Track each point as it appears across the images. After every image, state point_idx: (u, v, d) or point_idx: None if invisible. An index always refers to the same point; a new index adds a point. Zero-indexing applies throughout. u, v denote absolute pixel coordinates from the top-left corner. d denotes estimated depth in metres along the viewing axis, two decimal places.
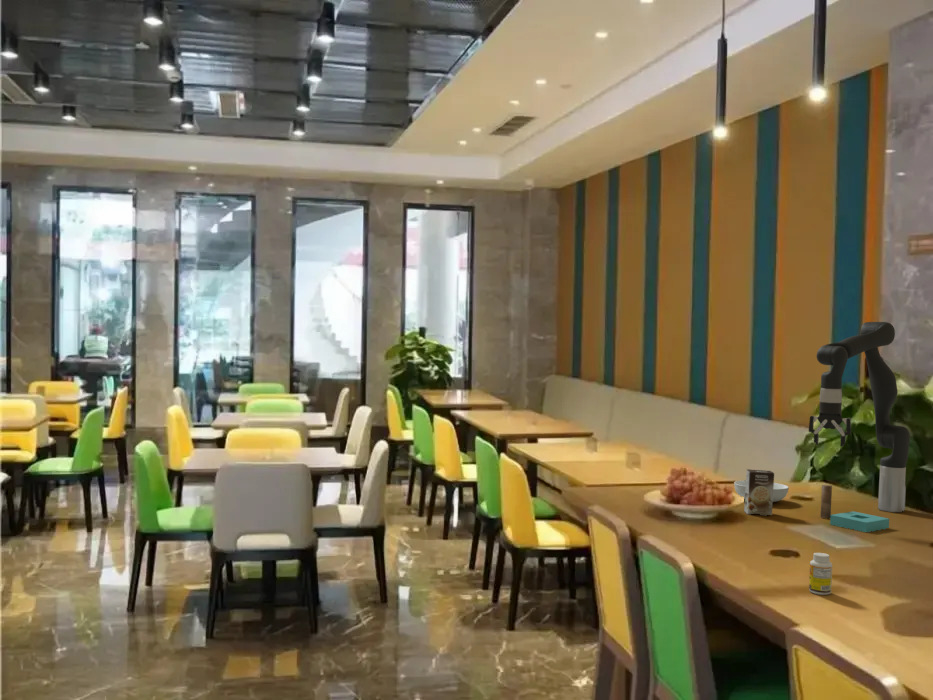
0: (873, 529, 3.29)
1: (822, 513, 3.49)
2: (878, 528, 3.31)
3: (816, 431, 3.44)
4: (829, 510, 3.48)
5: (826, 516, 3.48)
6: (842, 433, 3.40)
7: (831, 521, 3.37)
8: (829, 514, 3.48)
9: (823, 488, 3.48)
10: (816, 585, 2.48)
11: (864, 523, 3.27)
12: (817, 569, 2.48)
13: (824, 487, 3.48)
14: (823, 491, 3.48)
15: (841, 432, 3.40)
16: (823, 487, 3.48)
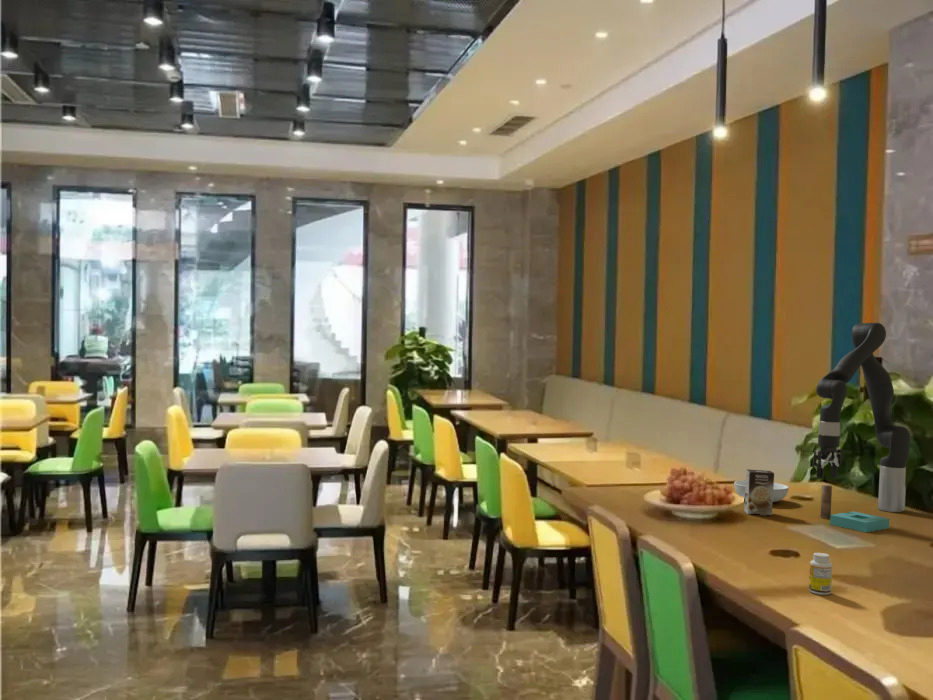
0: (873, 529, 3.29)
1: (822, 513, 3.49)
2: (878, 528, 3.31)
3: (823, 465, 3.46)
4: (829, 510, 3.48)
5: (826, 516, 3.48)
6: (837, 464, 3.51)
7: (831, 521, 3.37)
8: (829, 514, 3.48)
9: (823, 488, 3.48)
10: (816, 585, 2.48)
11: (864, 523, 3.27)
12: (817, 569, 2.48)
13: (824, 487, 3.48)
14: (823, 491, 3.48)
15: (837, 463, 3.50)
16: (823, 487, 3.48)
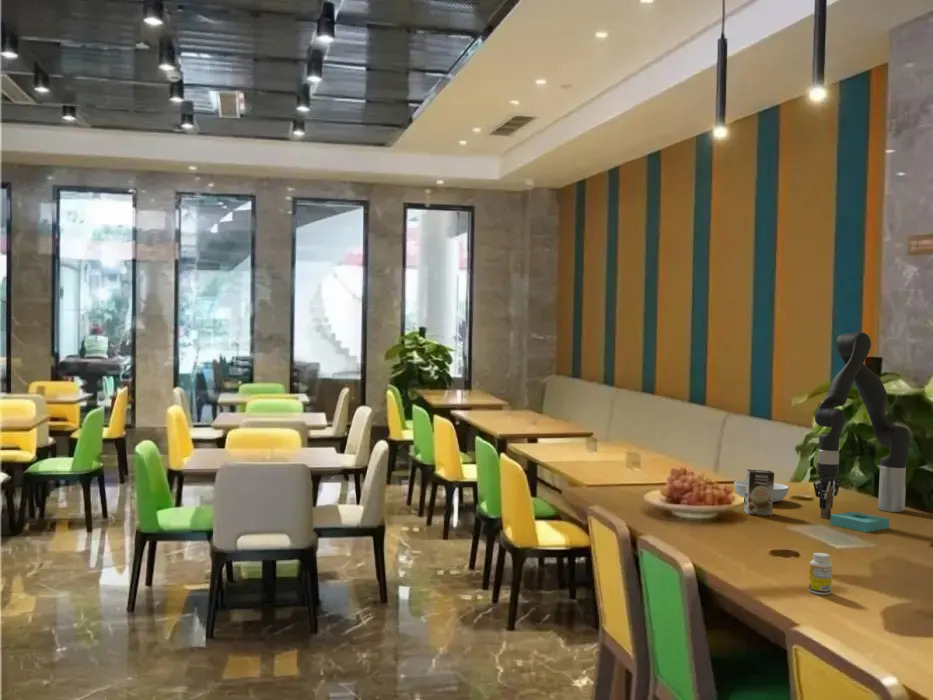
0: (873, 529, 3.29)
1: (822, 513, 3.49)
2: (878, 528, 3.31)
3: (825, 496, 3.47)
4: (829, 510, 3.48)
5: (826, 516, 3.48)
6: (833, 495, 3.50)
7: (831, 521, 3.37)
8: (829, 514, 3.48)
9: None
10: (816, 585, 2.48)
11: (864, 523, 3.27)
12: (817, 569, 2.48)
13: None
14: None
15: (833, 494, 3.50)
16: None
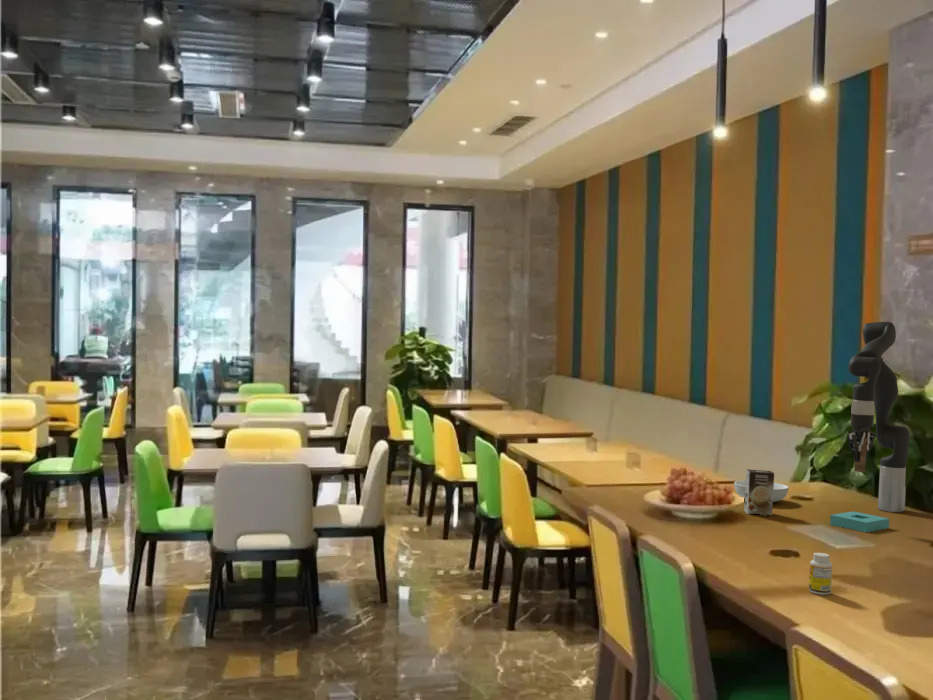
0: (873, 529, 3.29)
1: (856, 466, 3.35)
2: (878, 528, 3.31)
3: (860, 448, 3.34)
4: (864, 463, 3.34)
5: (860, 469, 3.34)
6: (868, 447, 3.36)
7: (831, 521, 3.37)
8: (864, 467, 3.35)
9: None
10: (816, 585, 2.48)
11: (864, 523, 3.27)
12: (817, 569, 2.48)
13: None
14: None
15: (867, 446, 3.36)
16: None
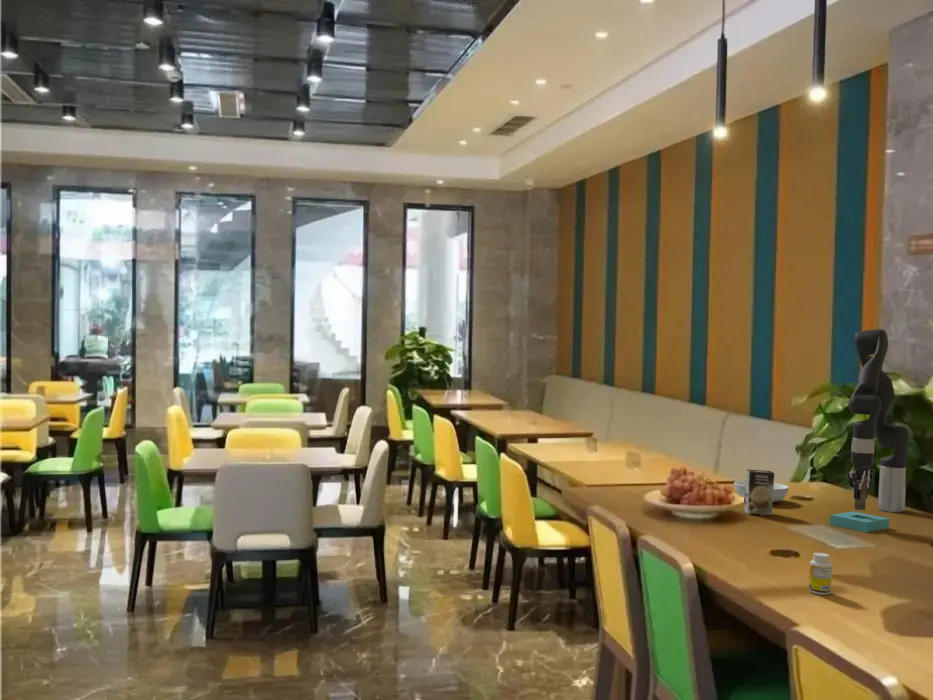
0: (873, 529, 3.29)
1: (856, 504, 3.35)
2: (878, 528, 3.31)
3: (860, 486, 3.33)
4: (864, 501, 3.34)
5: (861, 507, 3.34)
6: (868, 485, 3.36)
7: (831, 521, 3.37)
8: (864, 505, 3.35)
9: None
10: (816, 585, 2.48)
11: (864, 523, 3.27)
12: (817, 569, 2.48)
13: None
14: None
15: (867, 484, 3.36)
16: None
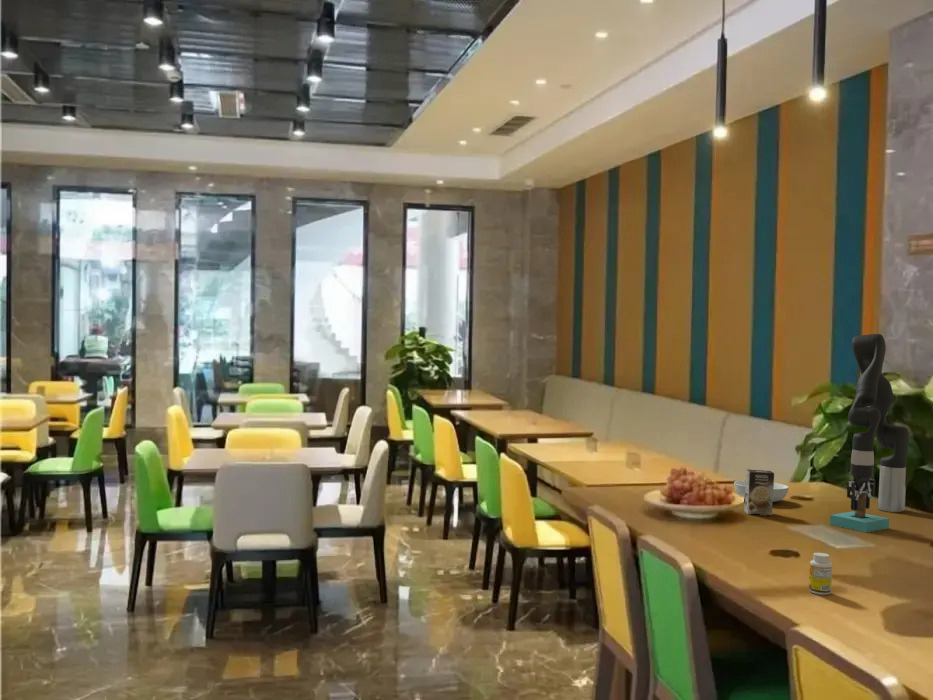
0: (873, 529, 3.29)
1: None
2: (878, 528, 3.31)
3: (857, 497, 3.33)
4: (863, 518, 3.35)
5: None
6: (870, 495, 3.37)
7: (831, 521, 3.37)
8: None
9: None
10: (816, 585, 2.48)
11: (864, 523, 3.27)
12: (817, 569, 2.48)
13: None
14: None
15: (869, 494, 3.37)
16: None
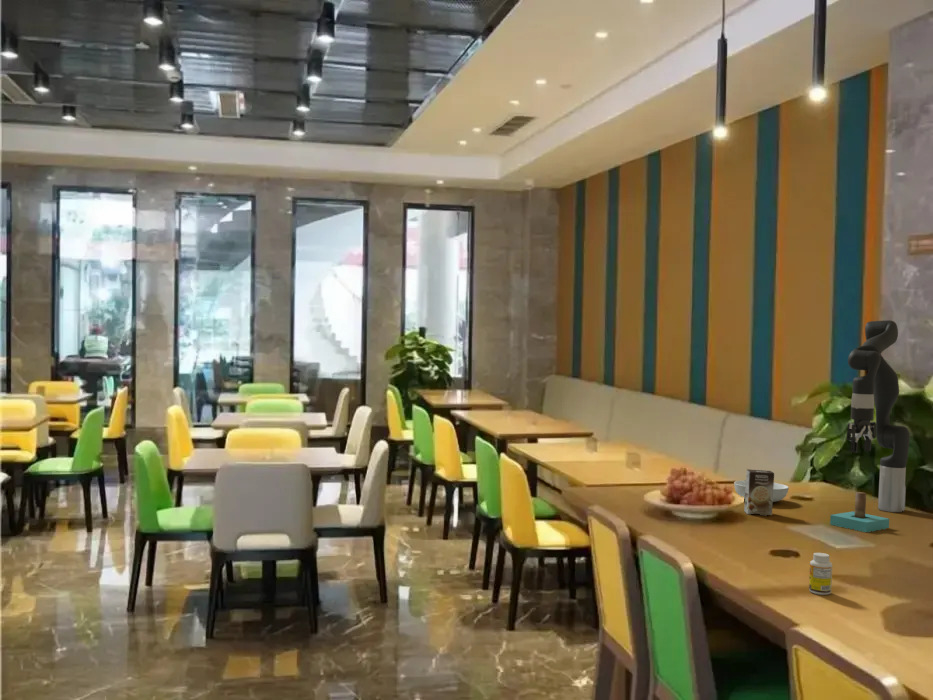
0: (873, 529, 3.29)
1: None
2: (878, 528, 3.31)
3: (857, 439, 3.34)
4: (863, 518, 3.35)
5: None
6: (871, 437, 3.39)
7: (831, 521, 3.37)
8: None
9: (857, 495, 3.35)
10: (816, 585, 2.48)
11: (864, 523, 3.27)
12: (817, 569, 2.48)
13: (858, 494, 3.35)
14: (857, 499, 3.35)
15: (870, 437, 3.39)
16: (857, 494, 3.35)
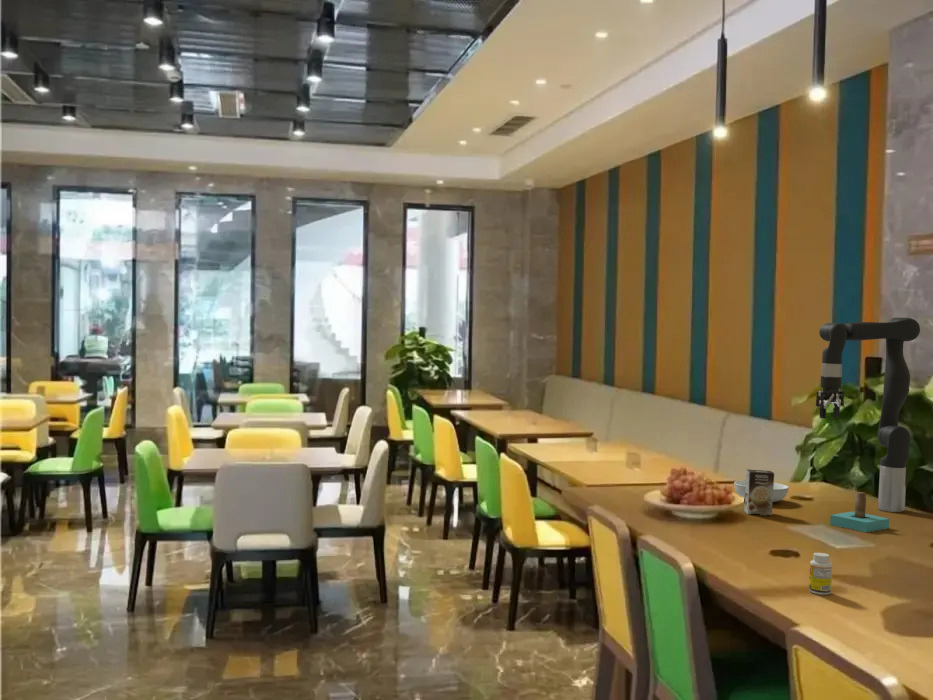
0: (873, 529, 3.29)
1: None
2: (878, 528, 3.31)
3: (825, 405, 3.56)
4: (863, 518, 3.35)
5: None
6: (839, 405, 3.61)
7: (831, 521, 3.37)
8: None
9: (857, 495, 3.35)
10: (816, 585, 2.48)
11: (864, 523, 3.27)
12: (817, 569, 2.48)
13: (858, 494, 3.35)
14: (857, 499, 3.35)
15: (839, 404, 3.61)
16: (857, 494, 3.35)
